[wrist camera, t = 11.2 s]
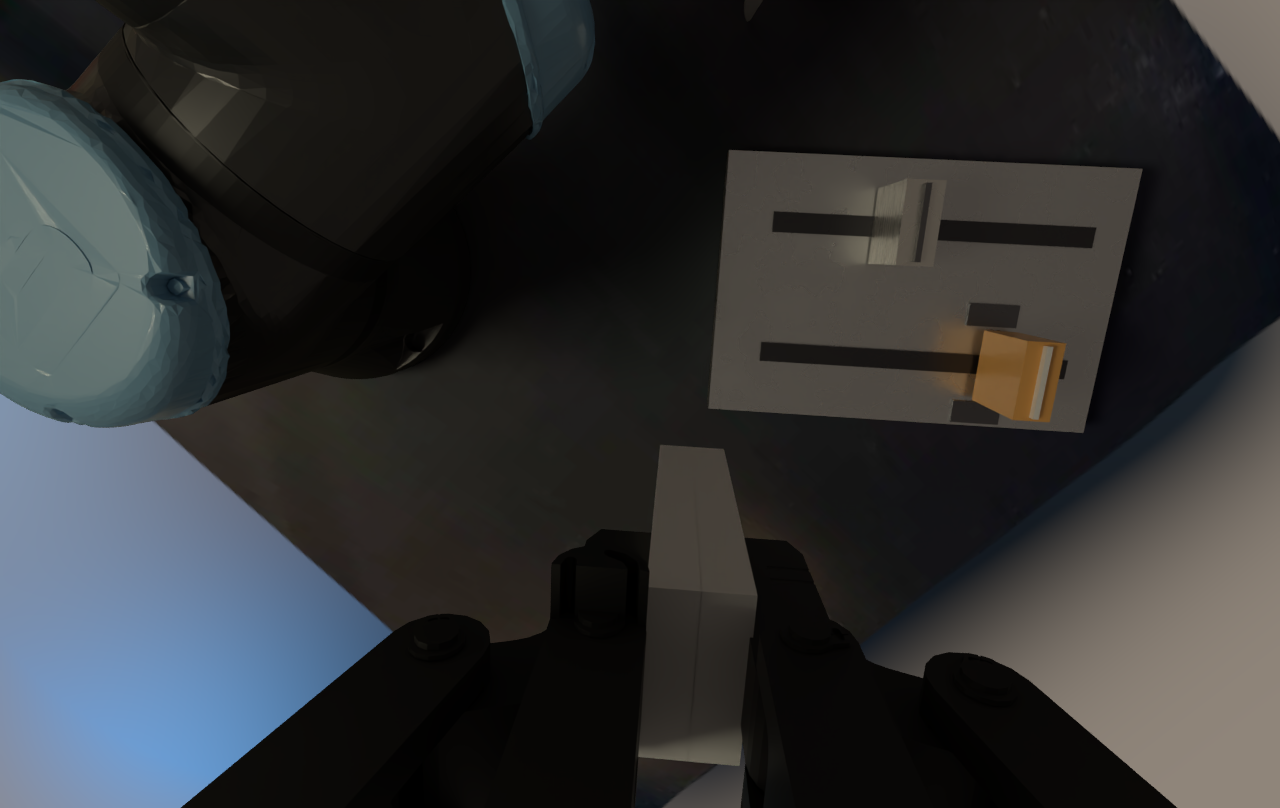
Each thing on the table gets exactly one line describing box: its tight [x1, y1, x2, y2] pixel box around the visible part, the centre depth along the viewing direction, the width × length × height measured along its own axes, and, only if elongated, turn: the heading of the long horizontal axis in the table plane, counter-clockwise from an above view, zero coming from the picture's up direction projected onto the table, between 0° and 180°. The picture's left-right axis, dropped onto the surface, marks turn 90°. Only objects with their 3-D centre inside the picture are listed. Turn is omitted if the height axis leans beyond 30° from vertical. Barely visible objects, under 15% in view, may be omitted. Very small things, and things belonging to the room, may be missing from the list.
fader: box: [972, 330, 1066, 422], centre depth 37 cm, size 2×4×5 cm, turn 177°
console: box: [707, 150, 1143, 433], centre depth 37 cm, size 24×16×8 cm, turn 87°
